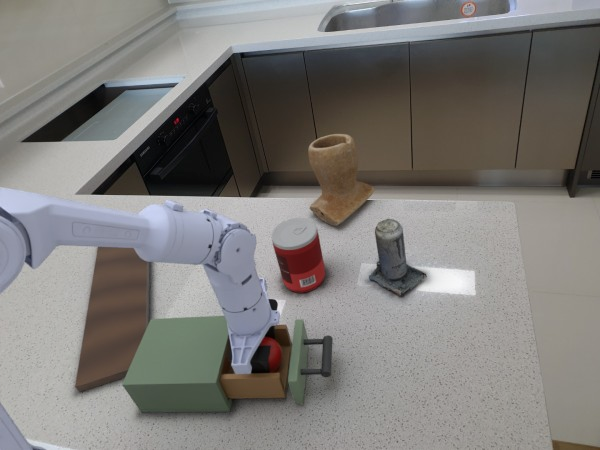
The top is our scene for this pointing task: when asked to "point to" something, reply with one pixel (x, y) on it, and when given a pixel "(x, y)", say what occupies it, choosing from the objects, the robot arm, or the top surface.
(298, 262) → the canned food
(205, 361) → the cabinet
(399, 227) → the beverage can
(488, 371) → the top surface
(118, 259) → the board
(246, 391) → the drawer
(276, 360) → the apple
